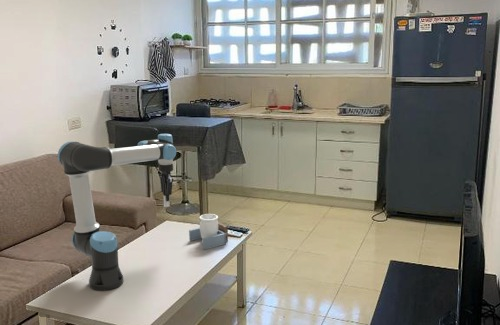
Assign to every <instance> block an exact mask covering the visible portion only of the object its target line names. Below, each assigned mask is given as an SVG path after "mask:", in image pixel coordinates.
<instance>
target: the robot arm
mask: <svg viewBox="0 0 500 325" xmlns="http://www.w3.org/2000/svg"><path fill="white" fill-rule="evenodd" d="M173 141H174V140H173V135H172V134H170V133H160V134H158V135H157V138H155V139H148V140H147V139H146V140H141V141H139V142H138V143H137V145H135V146H127V147H126V146H125V147H117V148H109V147H107V146H103V147H99V146H93V145H89V144H85V143H81V142H79V141H67V142H65V143H63V144H62V145H61V146H60V148H59V149H58V151H57V159H58V161H59V163H60V165H63V172H64V175H66V176H67V177H68V179H69V186H70V192H71V199H72V204H73V212H74V217H75V224H76V225H75V226H74V227H73V234H72V235H71V244H72V246H73V248H74V249H76V251H78V252H79V253H80V254H82V255H86V256H87V257H89V258H91V272H90V275H89V279H88V285H89V286H88V287H89V288H90V289H91V290H94V291H99V292H104V291H105V292H106V291H110V290H114V289H117V288H119V287H120V286H122V285H123V283H124V276H123V273H122V270H121V269H120V266H119V251H118V250H119V248H118V246H119V244H118V239H117V235H116V234H115V233H113V232H110V231H105V230H101V226H100V223H99V222H97V221H96V215H95V208H94V202H93V196H92V195H93V194H92V189H91V183H90V182H91V181H90V175H89V174H90V173H91V172H93V171H95V172H96V171H101V170H108V169H111V167H112V166H119V165H126V164H127V165H128V164H135V163H142V162H150V161H158V171H159V172H160V173H159V174H158V176H159V182H160V189H161V191H160V192H161V193H162V194H163V208H168V207H169V208H170V199H171V198H170V195H172V191H173V181H174V178H173V177H172V175H171V174H172V173H171V172H173V171H174V159H175V157H176V155H177V148H176V147H175V146H174V142H173Z"/></svg>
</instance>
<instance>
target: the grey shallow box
mask: <svg viewBox="0 0 500 325" xmlns="http://www.w3.org/2000/svg"><path fill="white" fill-rule="evenodd" d="M188 235H189V236H188V238H189V239H188V240H189V241H194V240H195V241H196V240H199V239H202V237H201V232H200V227H197V228H193V229H189V230H188ZM202 240H203V243H202V249H203V250H208V249H212V248H216V247H220V246H223V245H226V244H227V242H226V233H224V232H222V231H220V230H219V229H218V234H217V235H215V236H211V237H207V238H203V239H202Z"/></svg>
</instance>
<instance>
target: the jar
mask: <svg viewBox="0 0 500 325" xmlns="http://www.w3.org/2000/svg"><path fill="white" fill-rule="evenodd" d="M218 219H219V216H218V215H217V214H215V213H205V214H201V215H200V216H199V220H200V222H199V228H200V232H201V237H202V238H201V239H202V240H201V242H202V244H203V238H207V237H211V236H215V235H217V234H218V221H219V220H218Z"/></svg>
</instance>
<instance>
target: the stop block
mask: <svg viewBox="0 0 500 325" xmlns="http://www.w3.org/2000/svg"><path fill="white" fill-rule="evenodd" d="M217 221H218V229H219V230H220V231H222V232H224V233H226V243H227V242H228V241H229V240H228V239H229V231H228V230H229V227H228V225H226V224H225V223H222V222H221V221H219V220H217Z"/></svg>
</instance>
